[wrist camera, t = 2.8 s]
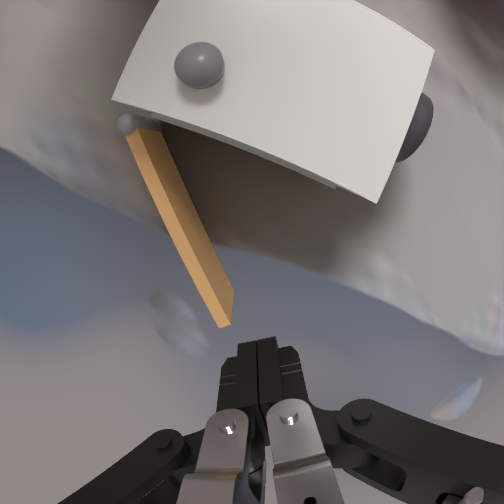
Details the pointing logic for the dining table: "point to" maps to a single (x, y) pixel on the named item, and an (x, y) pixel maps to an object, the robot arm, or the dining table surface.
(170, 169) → the tan wooden plank
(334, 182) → the camera body
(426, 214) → the dining table surface
